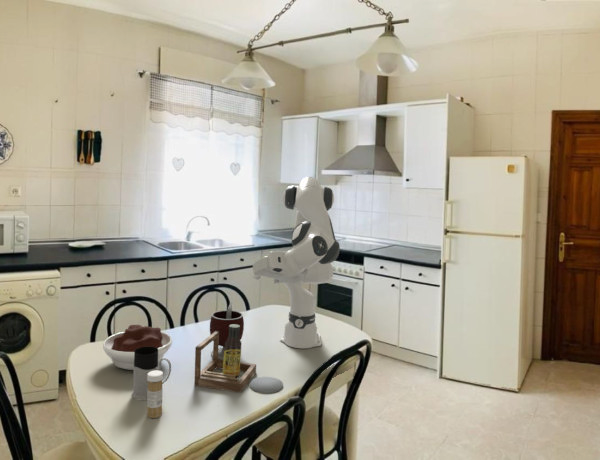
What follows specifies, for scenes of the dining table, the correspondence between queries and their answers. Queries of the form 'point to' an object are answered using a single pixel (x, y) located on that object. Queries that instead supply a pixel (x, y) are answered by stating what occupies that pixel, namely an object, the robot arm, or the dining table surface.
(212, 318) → the mate gourd
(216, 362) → the walnut rack
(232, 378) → the birch offcuts
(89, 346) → the dining table surface
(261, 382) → the slate mat
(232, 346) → the sauce bottle
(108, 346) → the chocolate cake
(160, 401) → the sprinkles bottle
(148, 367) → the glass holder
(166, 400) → the dining table surface
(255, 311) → the dining table surface
